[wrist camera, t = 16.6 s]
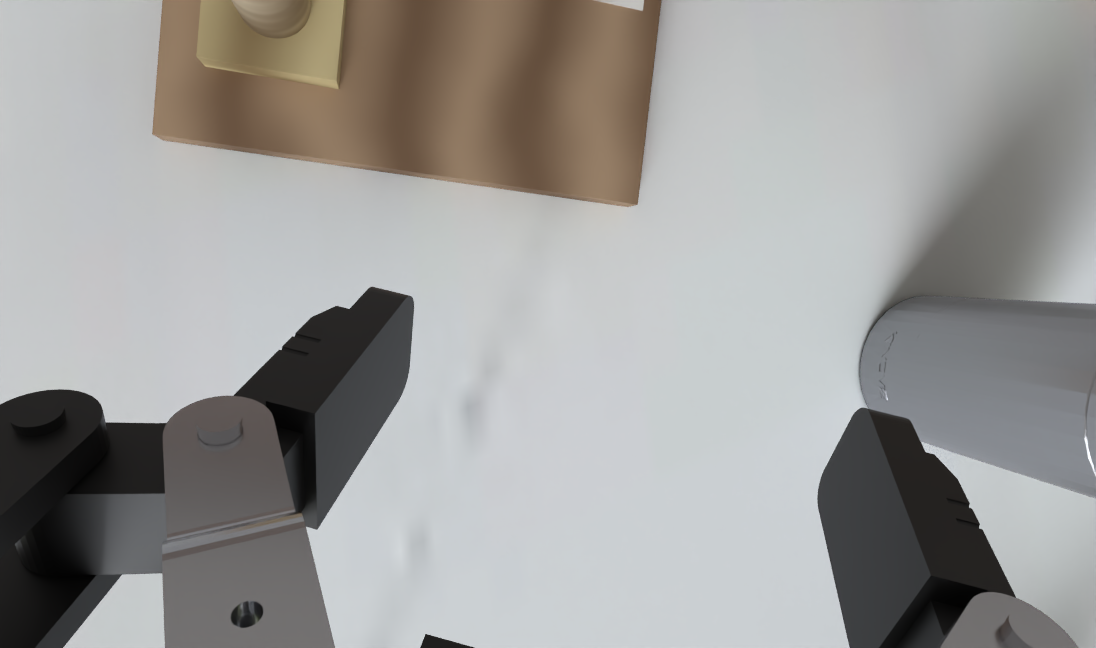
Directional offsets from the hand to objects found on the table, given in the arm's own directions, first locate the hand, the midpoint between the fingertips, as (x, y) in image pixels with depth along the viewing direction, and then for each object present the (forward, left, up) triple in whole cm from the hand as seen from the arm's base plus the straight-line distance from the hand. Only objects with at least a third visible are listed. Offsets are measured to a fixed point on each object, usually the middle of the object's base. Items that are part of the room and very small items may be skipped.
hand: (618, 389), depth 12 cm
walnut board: (+4, -13, -25) cm, 29 cm away
